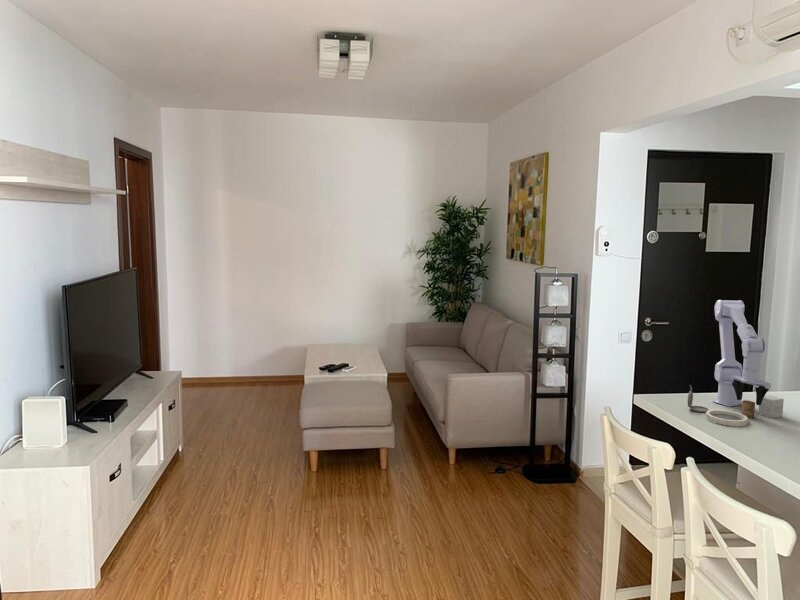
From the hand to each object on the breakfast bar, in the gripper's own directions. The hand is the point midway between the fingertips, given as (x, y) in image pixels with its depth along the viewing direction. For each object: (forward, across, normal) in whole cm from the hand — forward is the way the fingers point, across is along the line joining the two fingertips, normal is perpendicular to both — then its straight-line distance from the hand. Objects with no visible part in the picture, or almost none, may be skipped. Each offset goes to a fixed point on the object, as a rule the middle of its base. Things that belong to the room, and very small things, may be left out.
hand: (748, 402), depth 231 cm
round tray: (+6, -1, -12) cm, 13 cm away
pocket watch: (+6, -15, -10) cm, 19 cm away
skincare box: (+6, +3, +10) cm, 12 cm away
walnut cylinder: (+6, 0, 0) cm, 6 cm away
